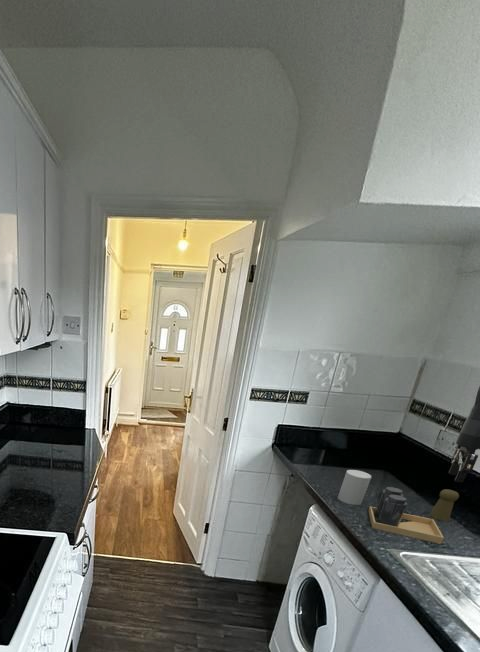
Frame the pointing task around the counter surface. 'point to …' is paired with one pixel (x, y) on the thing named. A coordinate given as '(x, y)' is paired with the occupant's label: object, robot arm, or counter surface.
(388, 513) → the shaker
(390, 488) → the shaker
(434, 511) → the cork
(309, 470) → the counter surface
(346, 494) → the white upright cylinder
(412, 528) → the tray
